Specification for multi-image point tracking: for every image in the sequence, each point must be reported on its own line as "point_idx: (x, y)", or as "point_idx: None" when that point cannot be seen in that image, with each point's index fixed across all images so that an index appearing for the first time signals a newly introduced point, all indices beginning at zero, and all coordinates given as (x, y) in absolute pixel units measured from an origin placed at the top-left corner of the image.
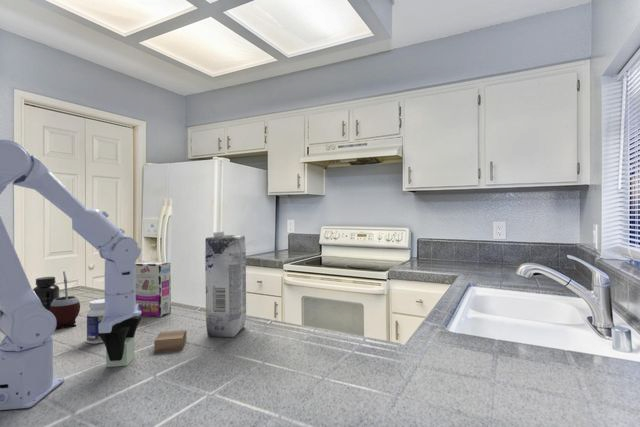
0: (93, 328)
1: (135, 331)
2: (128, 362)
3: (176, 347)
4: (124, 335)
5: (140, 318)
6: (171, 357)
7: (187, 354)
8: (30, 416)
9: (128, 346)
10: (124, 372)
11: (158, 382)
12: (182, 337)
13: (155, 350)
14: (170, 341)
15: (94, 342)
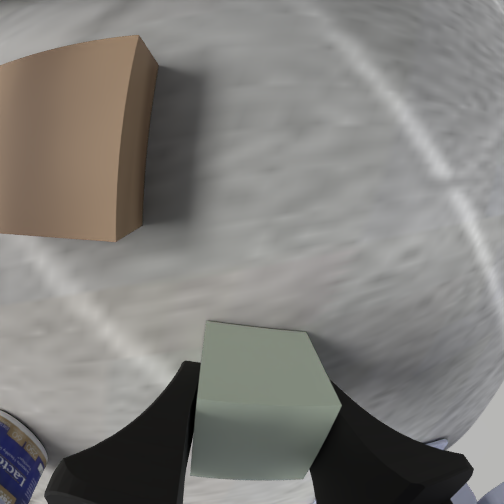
0: (30, 489)
1: (140, 418)
2: (286, 334)
3: (148, 91)
4: (421, 450)
5: (101, 490)
6: (266, 110)
7: (250, 32)
8: (472, 417)
9: (307, 388)
10: (372, 320)
11: (491, 170)
12: (124, 37)
13: (138, 221)
14: (129, 119)
15: (45, 454)
